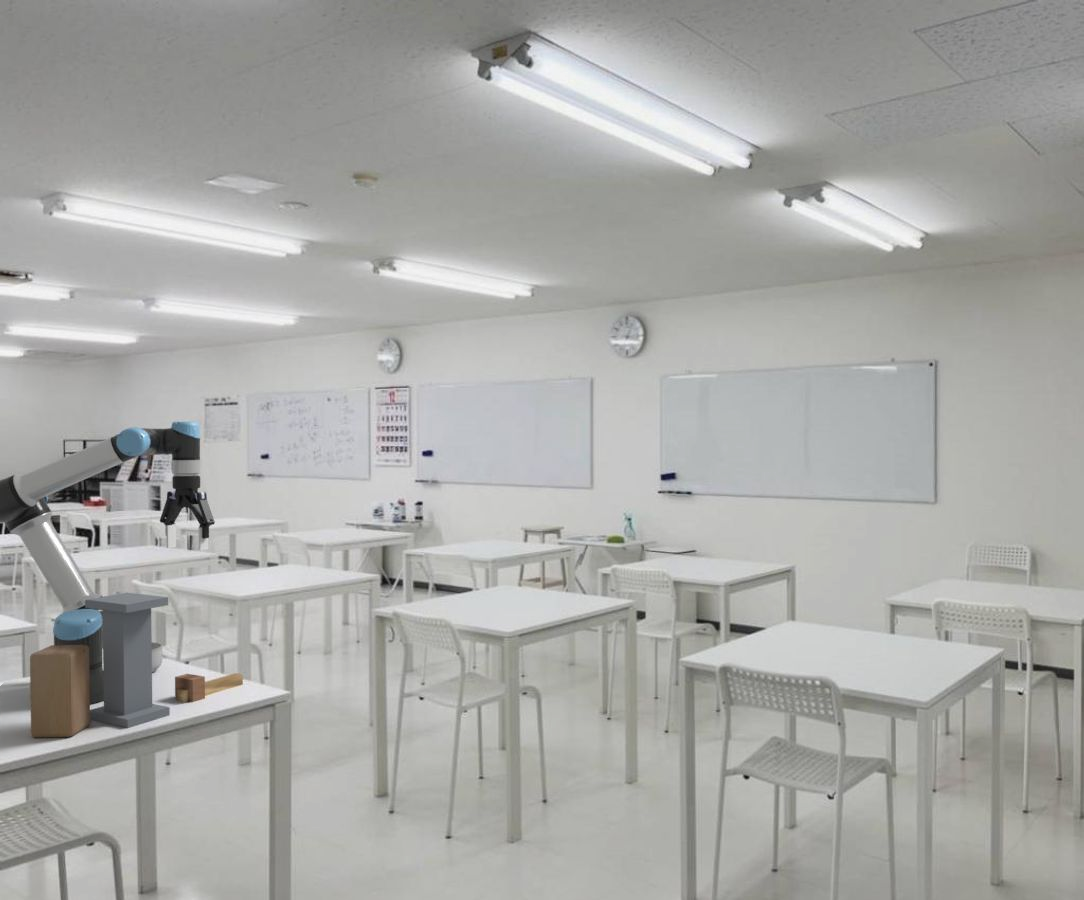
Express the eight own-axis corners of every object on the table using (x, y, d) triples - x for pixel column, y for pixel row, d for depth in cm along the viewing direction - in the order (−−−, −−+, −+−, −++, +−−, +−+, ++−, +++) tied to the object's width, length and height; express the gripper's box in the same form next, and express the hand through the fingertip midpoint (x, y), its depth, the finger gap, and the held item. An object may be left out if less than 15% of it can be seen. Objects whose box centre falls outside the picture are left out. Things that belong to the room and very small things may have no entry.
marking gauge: (172, 699, 248) (171, 677, 248) (230, 682, 266) (230, 662, 266) (189, 703, 245) (189, 680, 245) (247, 685, 262) (247, 664, 262)
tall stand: (86, 718, 232) (85, 599, 231) (128, 706, 242) (127, 592, 242) (127, 727, 224) (126, 604, 224) (169, 714, 234) (168, 597, 234)
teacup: (170, 670, 280) (170, 644, 280) (138, 678, 271) (137, 651, 271) (142, 665, 288) (141, 639, 288) (110, 672, 279) (109, 646, 279)
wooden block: (91, 725, 226) (90, 643, 226) (72, 738, 216) (71, 653, 216) (50, 725, 226) (49, 644, 226) (29, 739, 216) (27, 653, 216)
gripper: (227, 475, 263) (227, 549, 263) (168, 474, 275) (169, 545, 275) (205, 476, 256) (206, 552, 256) (146, 475, 268) (147, 547, 268)
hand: (187, 548), depth 266 cm, fingers open, 13 cm apart
